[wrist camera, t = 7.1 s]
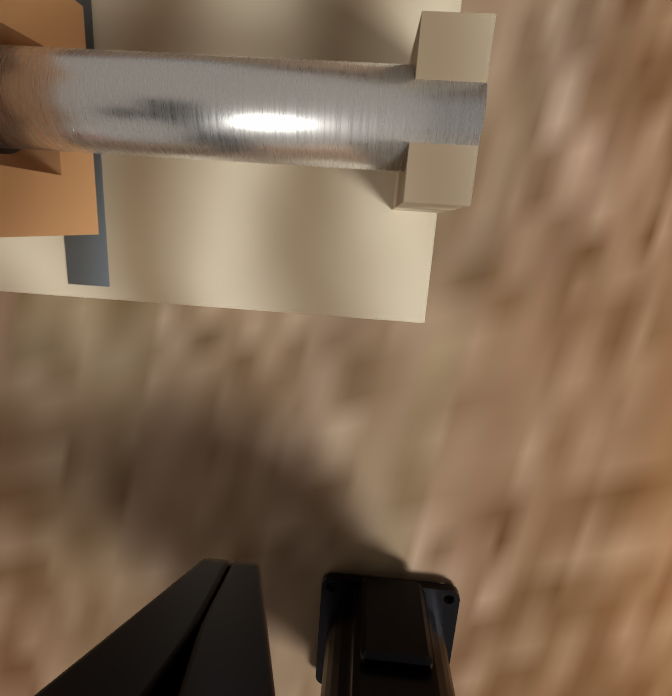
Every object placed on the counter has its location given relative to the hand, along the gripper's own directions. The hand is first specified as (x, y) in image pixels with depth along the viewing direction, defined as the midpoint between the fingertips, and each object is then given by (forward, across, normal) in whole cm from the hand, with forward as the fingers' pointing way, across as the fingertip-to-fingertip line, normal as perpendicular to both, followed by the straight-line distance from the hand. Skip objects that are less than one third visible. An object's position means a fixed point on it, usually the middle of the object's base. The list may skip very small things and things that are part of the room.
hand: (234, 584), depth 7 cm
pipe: (+8, +6, -8) cm, 13 cm away
